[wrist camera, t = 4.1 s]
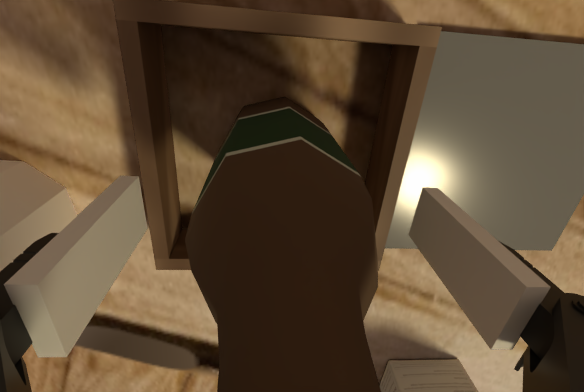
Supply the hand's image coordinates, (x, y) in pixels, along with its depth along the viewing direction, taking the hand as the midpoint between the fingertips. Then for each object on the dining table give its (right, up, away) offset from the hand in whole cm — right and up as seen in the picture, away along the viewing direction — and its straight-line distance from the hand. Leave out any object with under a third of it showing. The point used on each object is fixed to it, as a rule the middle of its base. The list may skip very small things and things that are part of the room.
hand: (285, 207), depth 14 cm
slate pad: (+17, +4, +10) cm, 20 cm away
